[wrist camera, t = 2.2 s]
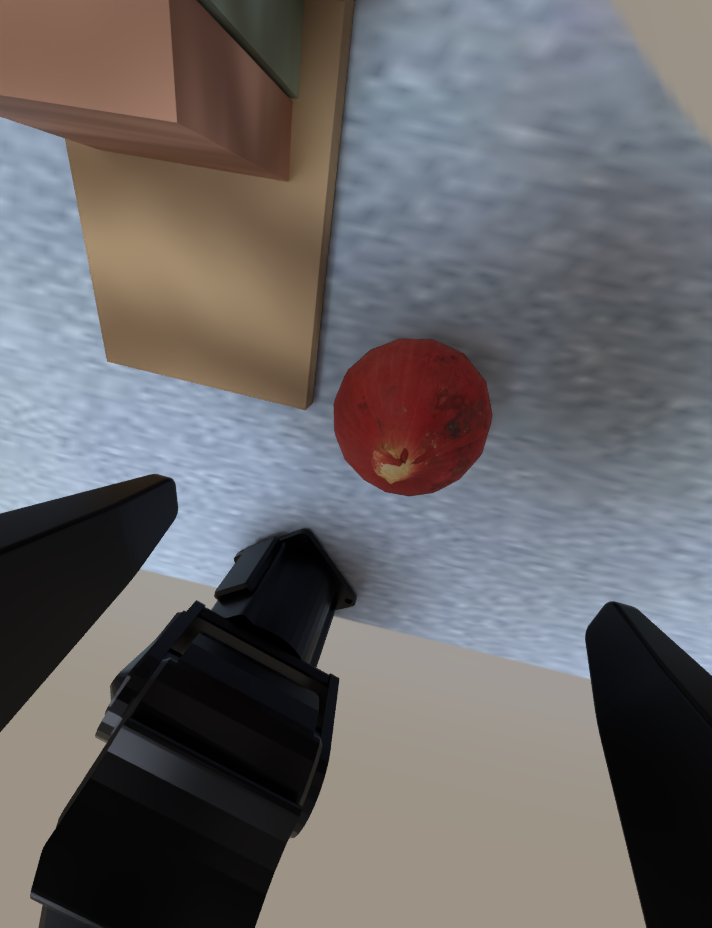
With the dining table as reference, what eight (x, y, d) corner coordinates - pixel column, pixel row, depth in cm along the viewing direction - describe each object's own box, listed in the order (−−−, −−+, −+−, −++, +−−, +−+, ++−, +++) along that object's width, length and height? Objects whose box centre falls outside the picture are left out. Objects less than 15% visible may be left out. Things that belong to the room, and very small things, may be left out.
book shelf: (312, 403, 19) (194, 520, 10) (122, 357, 20) (-129, 426, 11) (360, -57, 11) (45, -1216, 2) (48, -85, 12) (-891, -907, 4)
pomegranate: (467, 305, 15) (482, 336, 8) (493, 430, 17) (523, 539, 10) (340, 349, 17) (266, 404, 10) (378, 456, 19) (339, 561, 12)
